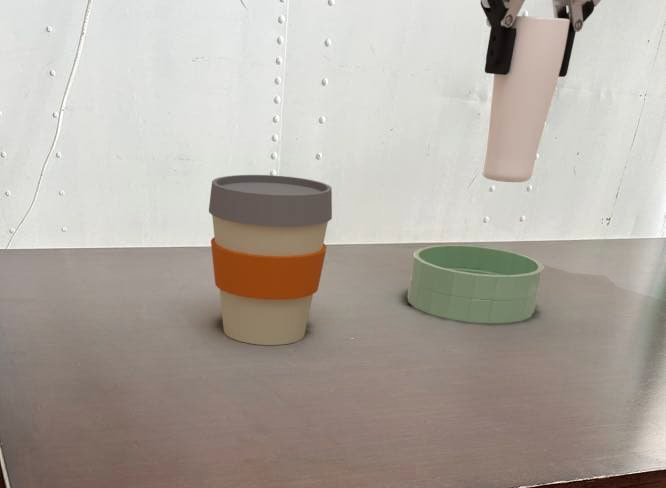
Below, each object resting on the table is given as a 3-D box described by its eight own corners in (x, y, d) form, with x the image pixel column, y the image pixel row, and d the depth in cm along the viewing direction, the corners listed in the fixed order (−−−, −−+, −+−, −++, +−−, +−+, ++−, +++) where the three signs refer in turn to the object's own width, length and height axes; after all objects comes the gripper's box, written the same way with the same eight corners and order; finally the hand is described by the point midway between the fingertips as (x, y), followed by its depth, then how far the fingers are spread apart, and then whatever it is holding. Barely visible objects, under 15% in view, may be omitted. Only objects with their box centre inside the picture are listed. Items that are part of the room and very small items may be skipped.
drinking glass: (510, 186, 86) (543, 16, 78) (461, 176, 90) (487, 15, 82) (550, 182, 89) (585, 20, 81) (501, 172, 94) (529, 18, 86)
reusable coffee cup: (246, 358, 82) (253, 199, 74) (186, 322, 91) (186, 177, 83) (344, 340, 88) (360, 192, 80) (278, 309, 97) (287, 172, 89)
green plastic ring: (520, 297, 107) (530, 249, 104) (542, 333, 94) (555, 280, 91) (404, 288, 108) (410, 241, 104) (410, 323, 95) (418, 270, 92)
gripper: (520, -168, 69) (480, 75, 78) (668, -142, 75) (614, 79, 85) (466, -155, 75) (434, 70, 84) (607, -132, 81) (564, 74, 91)
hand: (525, 73), depth 84 cm, fingers closed on drinking glass, 6 cm apart
